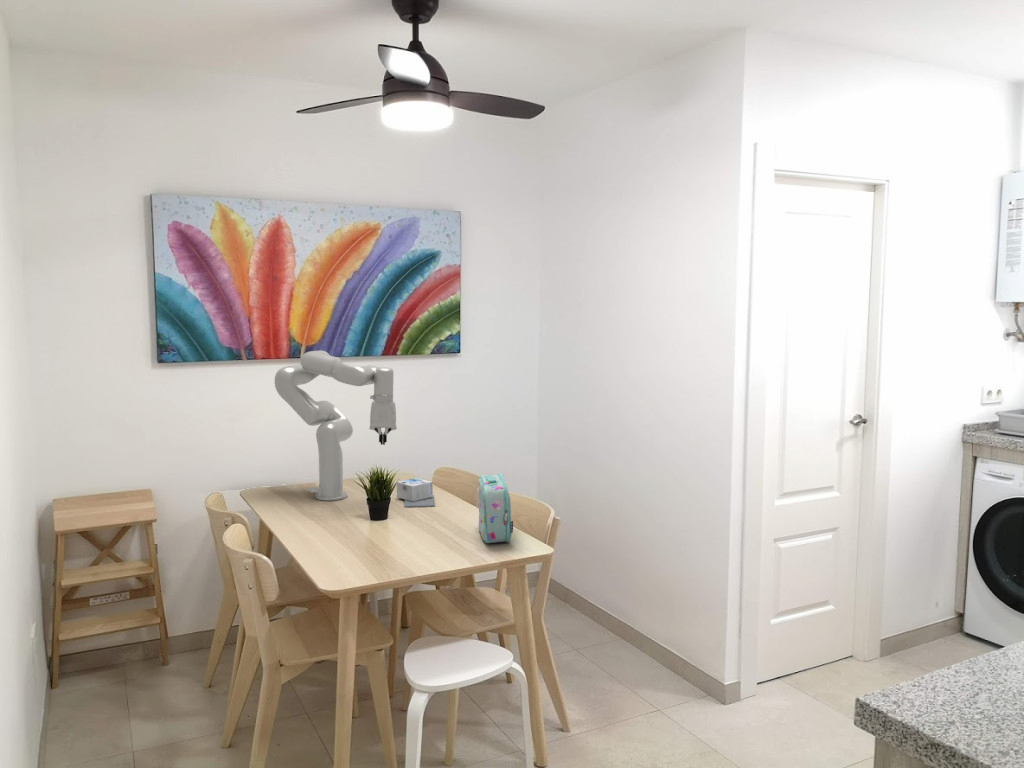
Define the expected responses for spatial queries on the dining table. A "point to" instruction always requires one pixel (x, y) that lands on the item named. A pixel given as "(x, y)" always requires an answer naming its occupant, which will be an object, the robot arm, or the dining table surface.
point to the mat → (421, 502)
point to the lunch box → (494, 509)
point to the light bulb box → (414, 489)
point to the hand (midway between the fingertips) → (382, 444)
